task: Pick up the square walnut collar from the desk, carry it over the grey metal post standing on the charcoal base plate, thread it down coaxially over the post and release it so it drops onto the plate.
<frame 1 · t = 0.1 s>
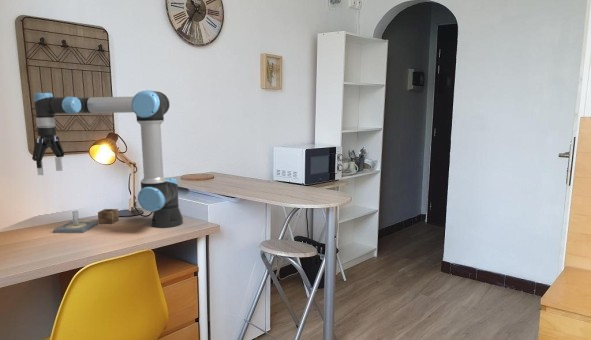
hand: (50, 172, 201), 28 cm above the table, fingers open, 13 cm apart
post block: (76, 228, 208), on the table
collar: (108, 222, 219), on the table
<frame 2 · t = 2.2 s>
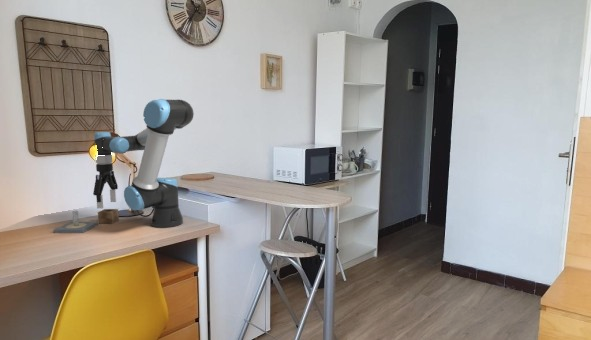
hand: (107, 205, 218), 9 cm above the table, fingers open, 13 cm apart
nothing on the table moved.
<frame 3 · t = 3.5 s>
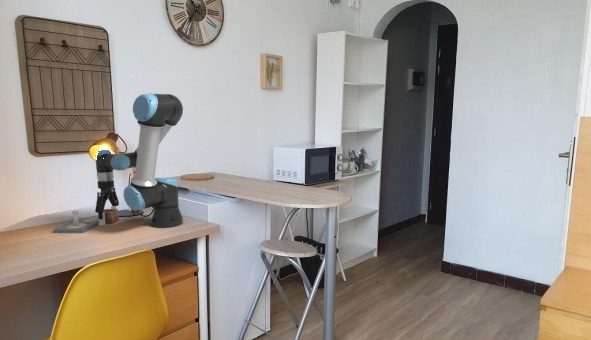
hand: (108, 221, 219), 0 cm above the table, fingers open, 12 cm apart
nothing on the table moved.
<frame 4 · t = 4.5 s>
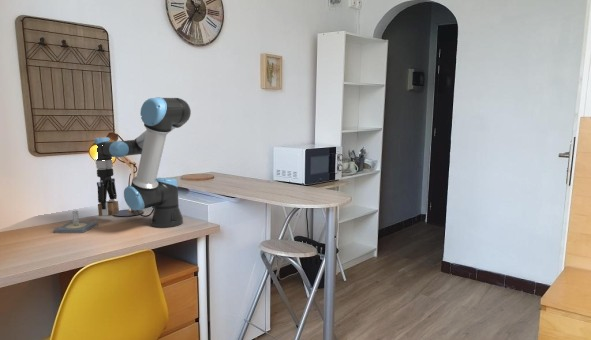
hand: (109, 213, 218), 5 cm above the table, fingers closed on collar, 7 cm apart
collar: (109, 214, 218), point 4 cm above the table, touching gripper
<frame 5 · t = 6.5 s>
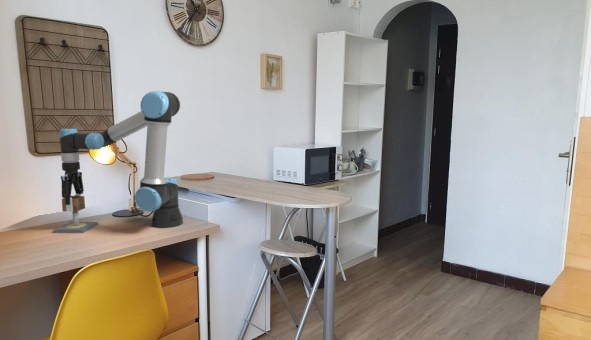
hand: (74, 209, 206), 10 cm above the table, fingers closed on collar, 7 cm apart
collar: (74, 209, 206), point 9 cm above the table, touching gripper
when the fingers open (3 cm above the table, at t = 8.3 s): collar stays where it is, resting on post block.
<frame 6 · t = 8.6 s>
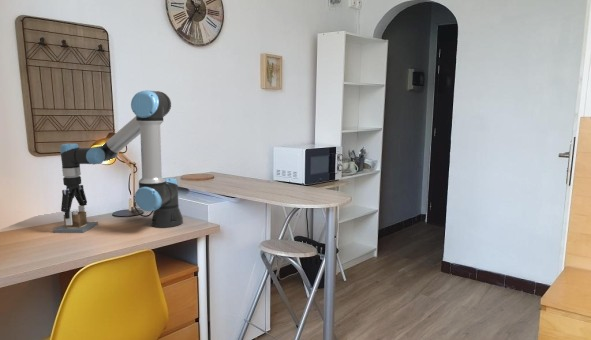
hand: (76, 221, 207), 3 cm above the table, fingers open, 10 cm apart
collar: (76, 225, 207), point 2 cm above the table, touching post block
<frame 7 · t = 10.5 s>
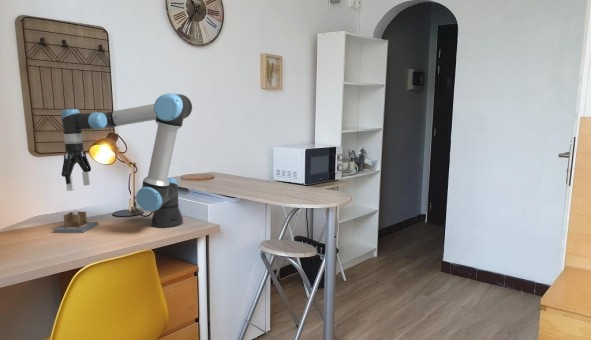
hand: (78, 187, 203), 20 cm above the table, fingers open, 13 cm apart
nothing on the table moved.
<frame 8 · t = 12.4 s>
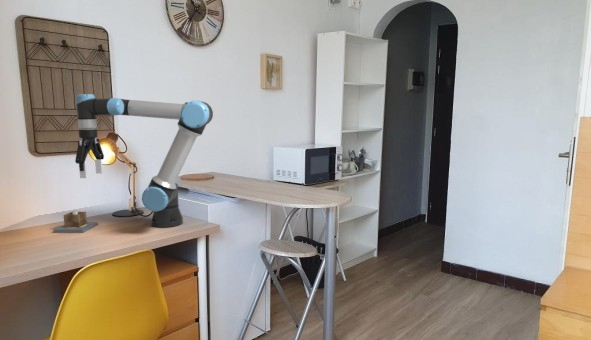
hand: (91, 175, 197), 27 cm above the table, fingers open, 13 cm apart
nothing on the table moved.
at the end: collar 0.1 cm off-centre on the post block, point 1.5 cm above the post block's base; the gripper is holding nothing; collar tilted 0° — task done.
